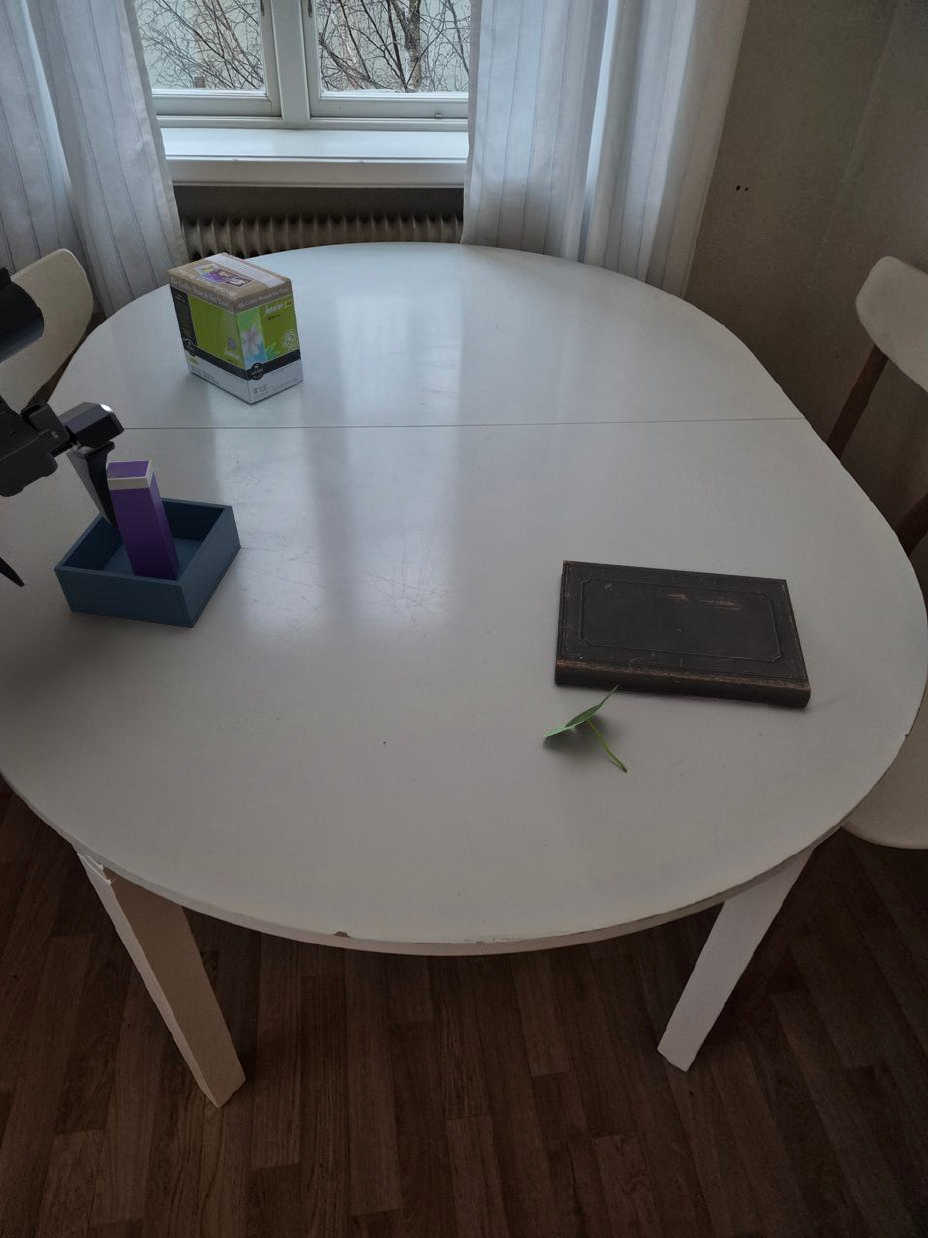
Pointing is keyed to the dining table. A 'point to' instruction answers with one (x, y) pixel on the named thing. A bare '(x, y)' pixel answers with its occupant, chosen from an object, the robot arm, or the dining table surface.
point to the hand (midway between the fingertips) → (69, 555)
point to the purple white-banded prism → (142, 519)
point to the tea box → (237, 325)
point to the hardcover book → (679, 634)
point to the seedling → (586, 716)
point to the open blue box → (109, 586)
